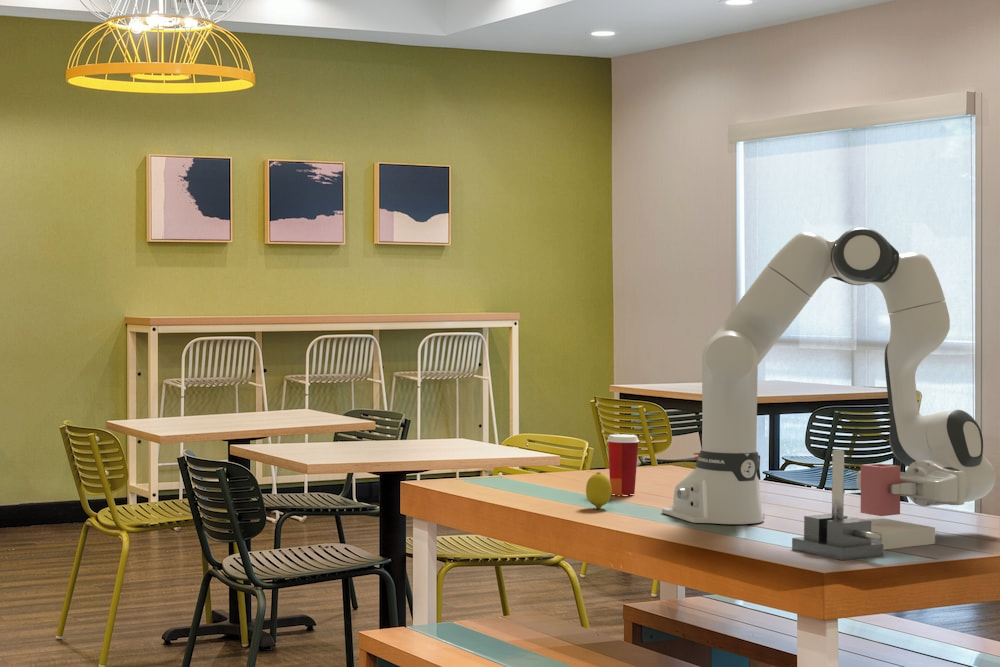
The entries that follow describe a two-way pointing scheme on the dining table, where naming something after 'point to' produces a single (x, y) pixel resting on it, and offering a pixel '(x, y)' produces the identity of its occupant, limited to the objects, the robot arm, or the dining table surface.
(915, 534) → the block
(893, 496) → the sleeve
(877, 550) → the vise
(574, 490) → the dining table surface
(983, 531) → the dining table surface
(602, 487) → the lemon
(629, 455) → the paper cup
